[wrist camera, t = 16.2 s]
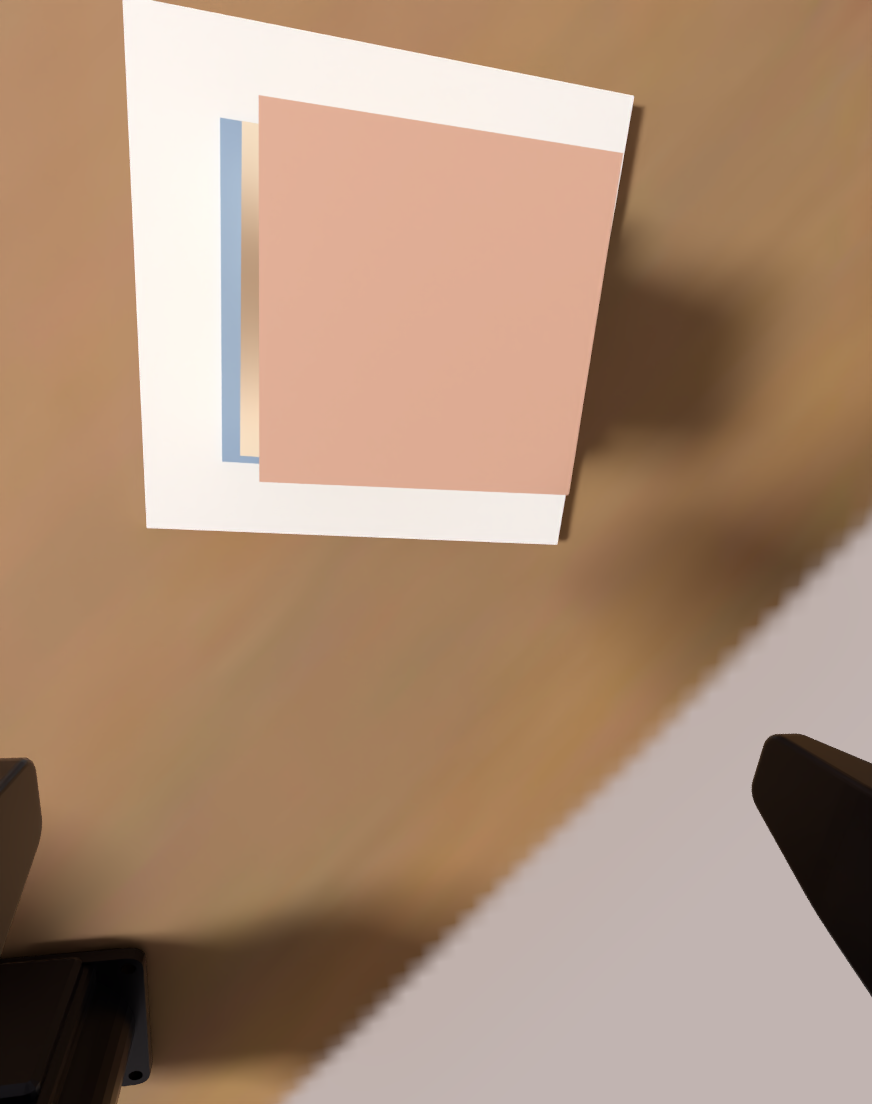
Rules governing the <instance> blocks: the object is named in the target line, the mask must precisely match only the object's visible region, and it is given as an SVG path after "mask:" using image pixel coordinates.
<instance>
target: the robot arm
mask: <svg viewBox="0 0 872 1104" xmlns="http://www.w3.org/2000/svg"><path fill="white" fill-rule="evenodd" d="M752 796H753V800H754V803H755V805H756V806H757V809H758V810H759V812H760V814H761V816H762V817H763V819H764V821H765V823H766V825H767V826H768V828H769V830H770V832H771V834H772V835H773V837H774V839H775V841H776V843H777V844H778V846H779V848H780V850H781V852H782V853H783V855H784V857H785V859H786V860H787V862H788V864H789V866H790V868H791V870H792V871H793V873H794V875H795V877H796V879H797V880H798V882H799V884H800V886H801V887H802V889H803V891H804V893H805V895H806V896H807V898H808V900H809V901H810V903H811V905H812V907H813V908H814V910H815V911H816V913H817V915H818V916H819V918H820V920H821V921H822V923H823V924H824V926H825V927H826V929H827V931H828V932H829V934H830V935H831V937H832V938H833V939H834V941H835V943H836V944H837V946H838V947H839V949H840V950H841V952H842V953H843V954H844V956H845V957H846V959H847V961H848V962H849V964H850V965H851V967H852V968H853V969H854V971H855V972H856V974H857V975H858V977H859V978H860V980H861V981H862V983H863V984H864V986H865V987H866V989H867V990H868V992H869V993H870V995H871V996H872V763H869V762H867V761H864V760H862V759H860V758H857V757H855V756H852V755H850V754H848V753H845V752H843V751H840V750H838V749H836V748H833V747H831V746H828V745H826V744H824V743H821V742H819V741H817V740H814V739H812V738H810V737H807V736H805V735H801V734H775V735H772V736H770V737H769V738H768V739H767V740H766V741H765V743H764V746H763V749H762V752H761V756H760V759H759V762H758V765H757V769H756V772H755V775H754V779H753V782H752ZM41 830H42V816H41V807H40V799H39V791H38V783H37V775H36V769H35V766H34V764H33V762H32V761H31V760H29V759H28V758H0V955H1V953H2V950H3V947H4V944H5V941H6V938H7V935H8V932H9V929H10V926H11V923H12V920H13V918H14V915H15V912H16V909H17V906H18V903H19V900H20V897H21V894H22V891H23V888H24V885H25V883H26V880H27V877H28V874H29V871H30V868H31V865H32V862H33V859H34V856H35V853H36V850H37V848H38V844H39V841H40V836H41ZM151 1066H152V1049H151V1032H150V1015H149V998H148V981H147V964H146V956H145V953H144V952H143V951H141V950H139V949H136V948H126V949H114V950H102V951H90V952H78V953H66V954H54V955H42V956H30V957H18V958H6V959H0V1104H117V1102H118V1098H119V1094H120V1090H121V1086H129V1085H136V1084H140V1083H143V1082H145V1081H146V1080H147V1079H148V1078H149V1076H150V1071H151Z"/></svg>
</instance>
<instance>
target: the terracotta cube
mask: <svg viewBox="0 0 872 1104" xmlns="http://www.w3.org/2000/svg"><path fill="white" fill-rule="evenodd" d="M622 157H623V153H619V152H613V151H607V150H600V149H594V148H588V147H582V146H575V145H569V144H563V143H556V142H550V141H544V140H538V139H531V138H525V137H519V136H512V135H506V134H500V133H494V132H487V131H481V130H475V129H469V128H462V127H456V126H450V125H443V124H437V123H431V122H425V121H418V120H412V119H406V118H399V117H393V116H387V115H381V114H374V113H368V112H362V111H356V110H349V109H343V108H337V107H330V106H324V105H318V104H312V103H305V102H299V101H293V100H286V99H280V98H274V97H268V96H261V95H259V482H274V483H298V484H321V485H344V486H367V487H390V488H414V489H437V490H460V491H483V492H507V493H530V494H553V495H569V490H570V484H571V478H572V471H573V465H574V459H575V453H576V446H577V440H578V434H579V427H580V421H581V415H582V409H583V402H584V396H585V390H586V383H587V377H588V371H589V365H590V358H591V352H592V346H593V339H594V333H595V327H596V321H597V314H598V308H599V302H600V296H601V289H602V283H603V277H604V270H605V264H606V258H607V252H608V245H609V239H610V233H611V226H612V220H613V214H614V208H615V201H616V195H617V189H618V182H619V176H620V170H621V164H622Z"/></svg>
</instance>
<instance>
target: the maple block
mask: <svg viewBox="0 0 872 1104" xmlns="http://www.w3.org/2000/svg"><path fill="white" fill-rule="evenodd" d="M240 456H252V457H259V124H257V123H251V122H245V121H242V175H241V369H240Z"/></svg>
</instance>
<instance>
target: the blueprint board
mask: <svg viewBox="0 0 872 1104" xmlns="http://www.w3.org/2000/svg"><path fill="white" fill-rule="evenodd" d="M123 18H124V40H125V62H126V84H127V106H128V128H129V149H130V171H131V193H132V215H133V237H134V259H135V281H136V303H137V325H138V347H139V369H140V391H141V413H142V434H143V456H144V478H145V500H146V522H147V528H162V529H186V530H211V531H235V532H260V533H284V534H308V535H333V536H357V537H382V538H406V539H431V540H455V541H480V542H504V543H529V544H553V545H557V543H558V537H559V531H560V526H561V520H562V514H563V508H564V502H565V496H566V495H553V494H530V493H507V492H483V491H460V490H437V489H414V488H390V487H367V486H344V485H321V484H298V483H274V482H259V457H252V456H240V369H241V175H242V121H245V122H251V123H257V124H259V95H261V96H268V97H274V98H280V99H286V100H293V101H299V102H305V103H312V104H318V105H324V106H330V107H337V108H343V109H349V110H356V111H362V112H368V113H374V114H381V115H387V116H393V117H399V118H406V119H412V120H418V121H425V122H431V123H437V124H443V125H450V126H456V127H462V128H469V129H475V130H481V131H487V132H494V133H500V134H506V135H512V136H519V137H525V138H531V139H538V140H544V141H550V142H556V143H563V144H569V145H575V146H582V147H588V148H594V149H600V150H607V151H613V152H619V153H623V157H622V164H623V158H624V152H625V147H626V141H627V135H628V129H629V123H630V117H631V112H632V106H633V100H634V96H632V95H627V94H622V93H617V92H612V91H607V90H602V89H597V88H592V87H587V86H582V85H577V84H572V83H566V82H561V81H556V80H551V79H546V78H541V77H536V76H531V75H526V74H521V73H516V72H511V71H506V70H501V69H496V68H491V67H486V66H481V65H476V64H471V63H465V62H460V61H455V60H450V59H445V58H440V57H435V56H430V55H425V54H420V53H415V52H410V51H405V50H400V49H395V48H390V47H385V46H380V45H375V44H370V43H364V42H359V41H354V40H349V39H344V38H339V37H334V36H329V35H324V34H319V33H314V32H309V31H304V30H299V29H294V28H289V27H284V26H279V25H274V24H269V23H263V22H258V21H253V20H248V19H243V18H238V17H233V16H228V15H223V14H218V13H213V12H208V11H203V10H198V9H193V8H188V7H183V6H178V5H173V4H168V3H162V2H157V1H152V0H123ZM622 164H621V170H622ZM621 170H620V176H621ZM620 176H619V182H620ZM619 182H618V187H619ZM617 193H618V189H617ZM616 199H617V195H616ZM615 205H616V201H615ZM614 211H615V208H614ZM613 217H614V214H613ZM612 222H613V220H612ZM611 228H612V226H611ZM610 234H611V233H610ZM609 240H610V239H609ZM608 246H609V245H608Z"/></svg>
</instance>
